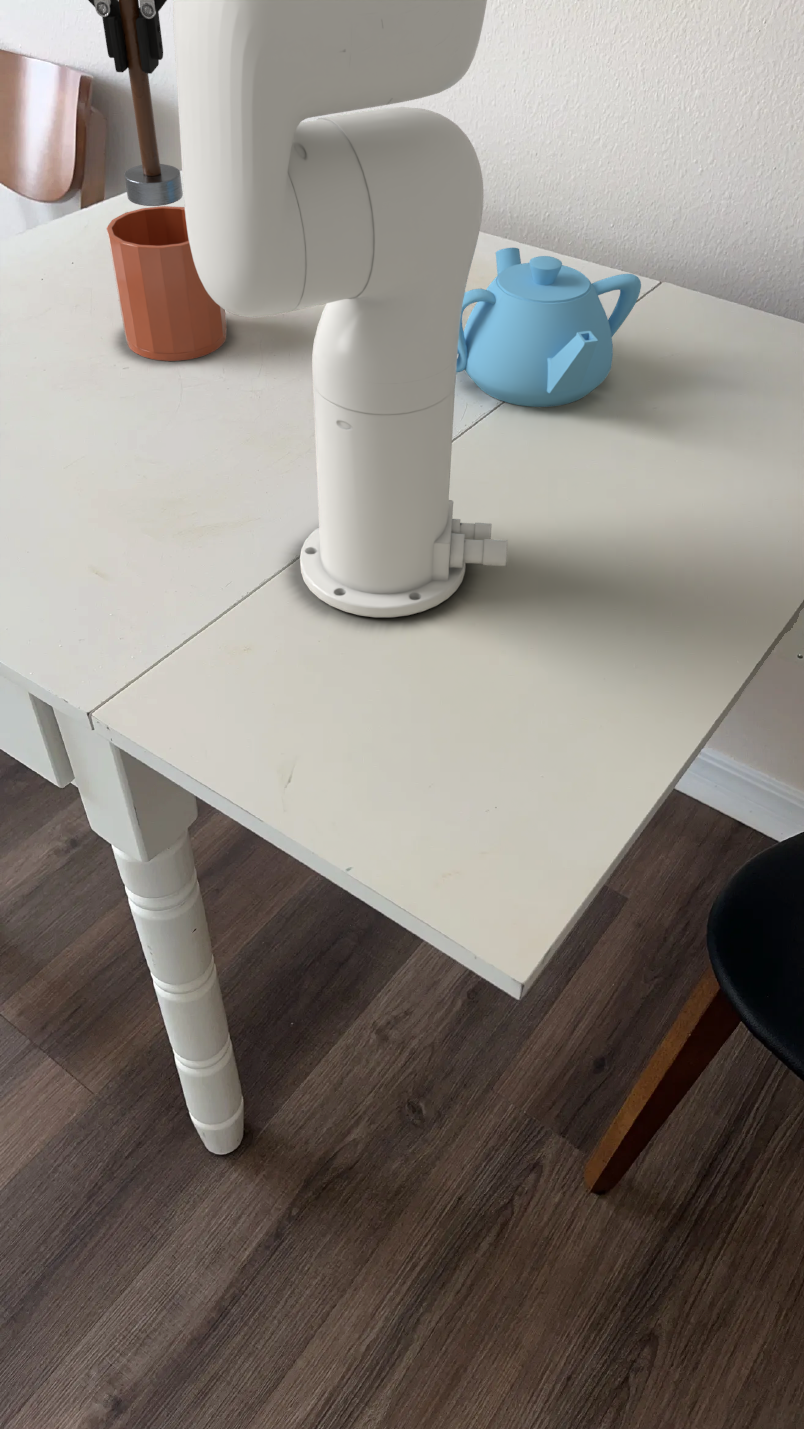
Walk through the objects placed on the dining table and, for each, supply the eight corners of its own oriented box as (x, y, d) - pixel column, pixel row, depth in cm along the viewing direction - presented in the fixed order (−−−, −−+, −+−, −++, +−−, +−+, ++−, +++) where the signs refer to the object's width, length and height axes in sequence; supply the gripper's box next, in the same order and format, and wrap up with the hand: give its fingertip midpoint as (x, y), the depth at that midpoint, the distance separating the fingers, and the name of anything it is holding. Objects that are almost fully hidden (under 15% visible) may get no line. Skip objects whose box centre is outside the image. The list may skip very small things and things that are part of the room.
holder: (234, 318, 112) (224, 208, 105) (216, 363, 105) (203, 249, 97) (140, 313, 113) (122, 204, 105) (115, 358, 106) (94, 244, 98)
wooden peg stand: (188, 187, 101) (164, -16, 89) (176, 207, 97) (150, -1, 86) (135, 185, 101) (104, -18, 89) (121, 205, 97) (88, -4, 86)
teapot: (637, 354, 108) (657, 240, 100) (581, 435, 97) (599, 314, 89) (495, 322, 113) (503, 211, 105) (426, 396, 102) (430, 278, 94)
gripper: (-26, -215, 76) (33, 77, 89) (194, -208, 76) (221, 85, 89) (9, -225, 81) (59, 52, 94) (215, -219, 81) (237, 60, 94)
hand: (137, 67), depth 91 cm, fingers closed on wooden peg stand
